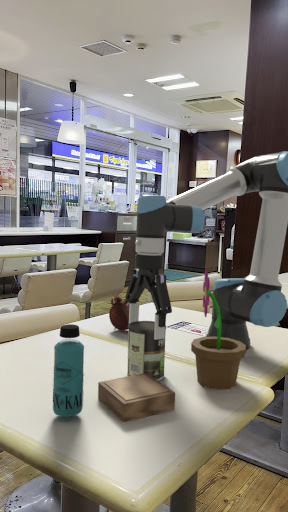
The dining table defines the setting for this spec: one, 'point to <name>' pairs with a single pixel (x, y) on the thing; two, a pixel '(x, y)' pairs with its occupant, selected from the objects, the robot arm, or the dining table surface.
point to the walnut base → (136, 396)
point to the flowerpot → (216, 352)
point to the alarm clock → (119, 312)
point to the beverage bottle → (68, 373)
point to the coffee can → (145, 350)
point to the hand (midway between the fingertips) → (145, 332)
